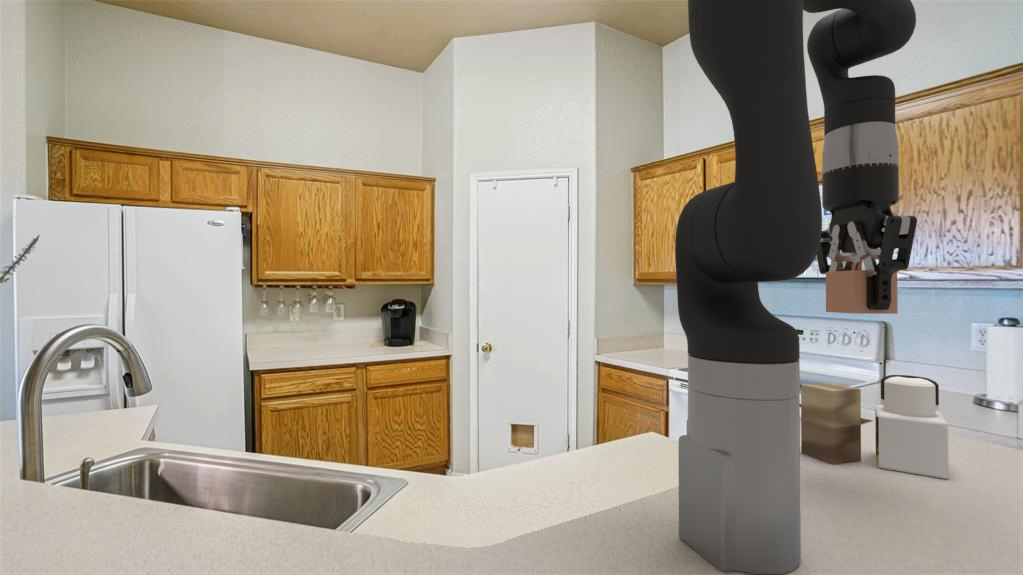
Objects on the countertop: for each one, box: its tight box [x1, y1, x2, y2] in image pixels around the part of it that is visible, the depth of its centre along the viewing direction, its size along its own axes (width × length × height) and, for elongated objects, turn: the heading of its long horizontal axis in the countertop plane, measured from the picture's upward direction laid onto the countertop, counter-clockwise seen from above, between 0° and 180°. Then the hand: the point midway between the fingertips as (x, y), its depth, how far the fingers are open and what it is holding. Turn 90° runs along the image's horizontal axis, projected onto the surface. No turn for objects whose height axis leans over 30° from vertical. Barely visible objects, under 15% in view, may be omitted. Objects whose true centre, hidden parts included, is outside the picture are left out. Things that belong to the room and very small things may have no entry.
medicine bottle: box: [874, 374, 950, 480], centre depth 65 cm, size 7×7×12 cm
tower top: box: [800, 382, 862, 428], centre depth 69 cm, size 5×5×5 cm
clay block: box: [825, 269, 898, 315], centre depth 58 cm, size 5×5×5 cm
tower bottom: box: [800, 418, 862, 466], centre depth 69 cm, size 5×5×5 cm
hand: (859, 308), depth 58 cm, fingers closed on clay block, 5 cm apart
